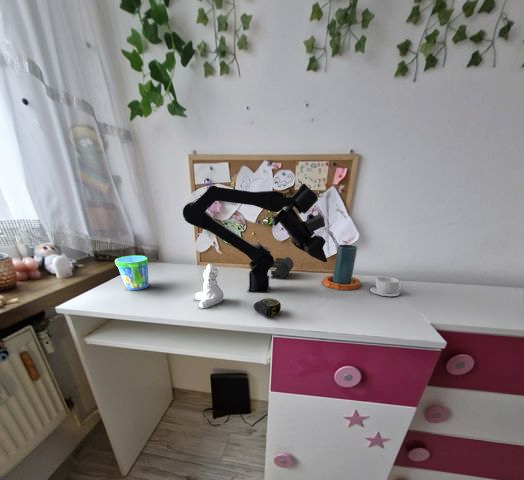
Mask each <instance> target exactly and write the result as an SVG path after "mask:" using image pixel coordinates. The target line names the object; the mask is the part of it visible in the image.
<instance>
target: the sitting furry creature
mask: <svg viewBox="0 0 524 480" xmlns="http://www.w3.org/2000/svg"><path fill="white" fill-rule="evenodd" d="M218 272H219V269H218V267H216V266H215V265H214V264H211V263H208V264H206V269H204V270H203V279H204V282H203V285H202V286H203V290H202V291H199V292H197V293H195V294H194V295H195V300H196V301H199V308H200V309H207V308H210V307H212V306H214V305H217V304H220V303H221V302H222V301H223V299H224V296H225V295H224V292H223V289H221V287H220V285H219V283H218V281H217V279H216V278H217V277H218Z"/></svg>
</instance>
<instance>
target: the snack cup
mask: <svg viewBox="0 0 524 480" xmlns="http://www.w3.org/2000/svg"><path fill="white" fill-rule="evenodd" d="M114 263H115V266H116V267H117V268H118V271H119V274H120V276H121V278H122V280H123V283H124V285H125V287H126V288H127V289H128V290H129V291H131V290H133V291H140V290H143V289H147V288H148V287H149V267H148V266H149V258H148V256H145V255H125V256H121V257H117V258H115V260H114Z"/></svg>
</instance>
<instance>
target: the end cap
mask: <svg viewBox="0 0 524 480" xmlns="http://www.w3.org/2000/svg"><path fill="white" fill-rule="evenodd" d="M271 268H273V269H274V270H270V276H271V277H270V278H271V279H276V280H282V279H284V278H286V276H287V275H288V274H289V273H290V272H291V271H292V270H293V269H294V261H293V259H292V258H291V257H288V256H286V257H284V258H282V257H277V258H275V259H274V264H273V266H272V267H271Z"/></svg>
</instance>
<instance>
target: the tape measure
mask: <svg viewBox="0 0 524 480" xmlns="http://www.w3.org/2000/svg"><path fill="white" fill-rule="evenodd" d="M253 309H254V311H255V312H257V313H259V314H261V315H263V316H265V318H270V317H274V316H277V315H279V314H280V312H281V309H282V304H281V302H280V300H277V299H276V298H262V299H260V300H258V301H256V302H255V303H253Z"/></svg>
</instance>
